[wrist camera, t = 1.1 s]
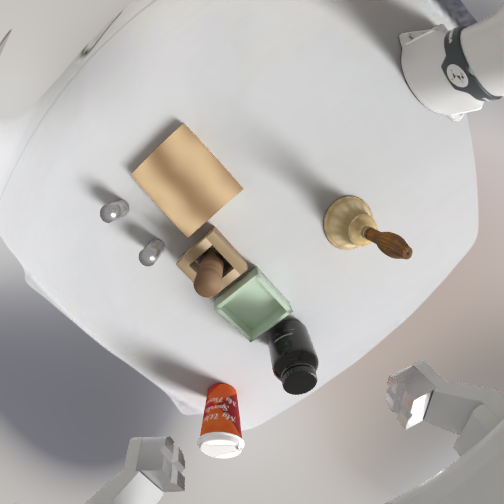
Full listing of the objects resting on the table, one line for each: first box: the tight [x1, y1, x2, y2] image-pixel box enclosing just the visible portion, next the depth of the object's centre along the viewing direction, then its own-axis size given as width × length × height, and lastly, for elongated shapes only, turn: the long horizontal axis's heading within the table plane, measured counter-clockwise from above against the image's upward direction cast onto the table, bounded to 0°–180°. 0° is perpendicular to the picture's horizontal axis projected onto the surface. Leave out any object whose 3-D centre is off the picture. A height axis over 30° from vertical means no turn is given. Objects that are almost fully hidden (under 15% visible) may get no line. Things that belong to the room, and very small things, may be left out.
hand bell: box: [324, 196, 412, 259], centre depth 32 cm, size 8×8×16 cm
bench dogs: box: [100, 200, 165, 266], centre depth 35 cm, size 2×10×5 cm, turn 40°
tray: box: [214, 266, 293, 342], centre depth 41 cm, size 8×8×3 cm
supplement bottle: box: [268, 320, 318, 395], centre depth 39 cm, size 7×7×12 cm
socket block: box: [176, 227, 248, 299], centre depth 38 cm, size 7×7×3 cm
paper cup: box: [198, 383, 244, 458], centre depth 41 cm, size 8×8×14 cm
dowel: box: [194, 249, 224, 297], centre depth 36 cm, size 3×3×9 cm
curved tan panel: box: [131, 123, 243, 238], centre depth 35 cm, size 10×12×2 cm
